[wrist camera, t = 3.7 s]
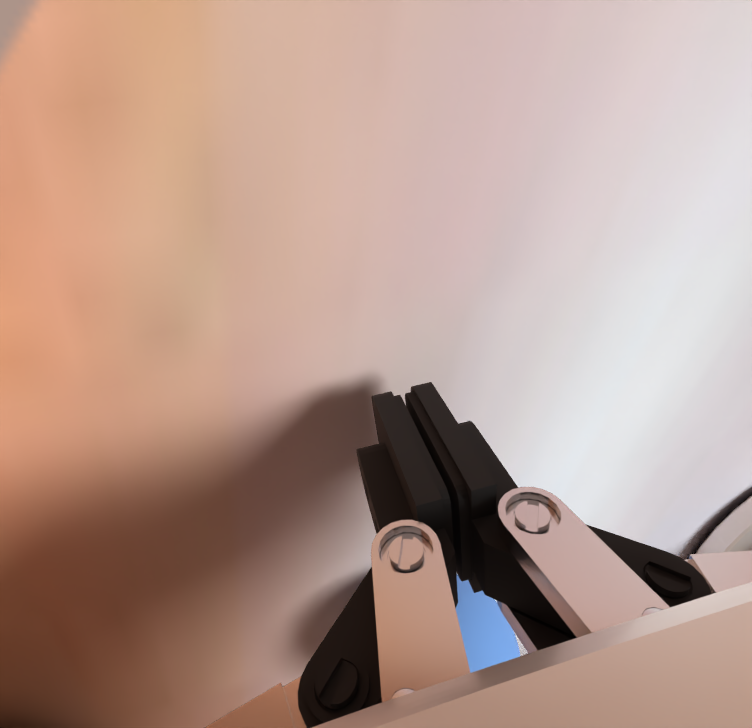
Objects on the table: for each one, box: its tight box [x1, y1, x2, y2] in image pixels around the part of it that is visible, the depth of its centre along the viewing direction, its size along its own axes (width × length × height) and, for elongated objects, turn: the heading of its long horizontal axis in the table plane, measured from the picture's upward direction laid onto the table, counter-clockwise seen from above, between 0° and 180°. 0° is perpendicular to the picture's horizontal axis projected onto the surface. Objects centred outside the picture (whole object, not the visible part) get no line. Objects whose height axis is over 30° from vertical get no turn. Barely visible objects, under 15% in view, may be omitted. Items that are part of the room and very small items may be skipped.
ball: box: [456, 575, 520, 673], centre depth 16 cm, size 6×6×6 cm
